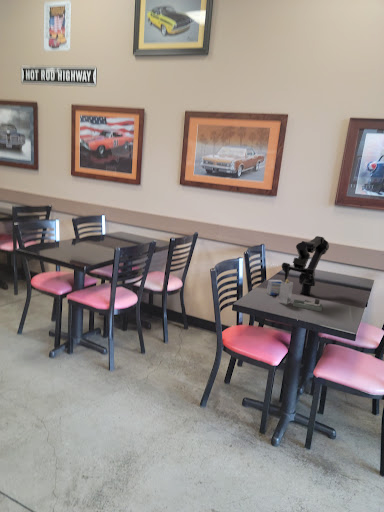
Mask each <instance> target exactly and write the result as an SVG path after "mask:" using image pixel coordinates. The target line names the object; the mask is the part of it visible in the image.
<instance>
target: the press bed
mask: <svg viewBox="0 0 384 512" xmlns="http://www.w3.org/2000/svg"><path fill="white" fill-rule="evenodd" d="M304 302H305V300H302V299H301V300H300V299H293V303H292V307H297V308H302V309H306V310H312V311H317V312H322V310H323V307H322V306H323V304H322V303H320V306H319V307H317V306H311V305H306V304H304Z"/></svg>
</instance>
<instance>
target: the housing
mask: <svg viewBox="0 0 384 512" xmlns="http://www.w3.org/2000/svg"><path fill="white" fill-rule="evenodd" d="M289 279H290V278H289ZM289 279H288V278H287V279H286V281H285V280H283V281H282V280H281V281H282V282H281V286H280V293H278V301H277V303H279V304H283V305H289V304H290V303H291V301H292V293H293V286H294V282H293V281H290V280H289Z"/></svg>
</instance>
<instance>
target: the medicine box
mask: <svg viewBox="0 0 384 512" xmlns="http://www.w3.org/2000/svg"><path fill="white" fill-rule="evenodd" d="M281 282H282V280H281V279H268V280H267V288H266V294H267V295H269V296H279V294H280V286H281Z"/></svg>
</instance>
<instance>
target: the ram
mask: <svg viewBox="0 0 384 512" xmlns="http://www.w3.org/2000/svg"><path fill="white" fill-rule="evenodd" d="M304 301H305V302H304V304H306V305H311V306H317V307H319V306H320V304H321V300H320V299H317V298H315V299H314V301H312V300H307V299H304Z"/></svg>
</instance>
